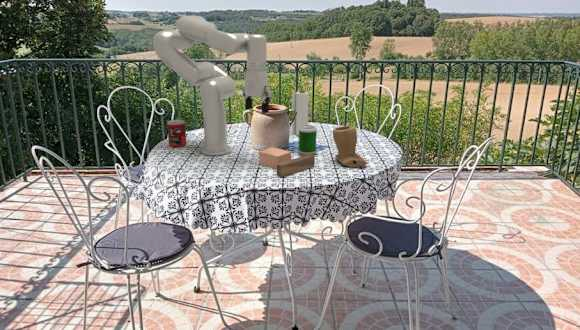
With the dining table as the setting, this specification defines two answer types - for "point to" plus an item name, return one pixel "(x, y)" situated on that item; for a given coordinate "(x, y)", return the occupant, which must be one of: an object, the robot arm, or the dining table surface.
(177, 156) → the dining table surface
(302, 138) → the soda can
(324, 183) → the dining table surface
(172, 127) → the canned food
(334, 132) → the tan boot-shaped piece
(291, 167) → the board
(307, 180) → the dining table surface
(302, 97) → the paper towel roll
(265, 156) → the brick
